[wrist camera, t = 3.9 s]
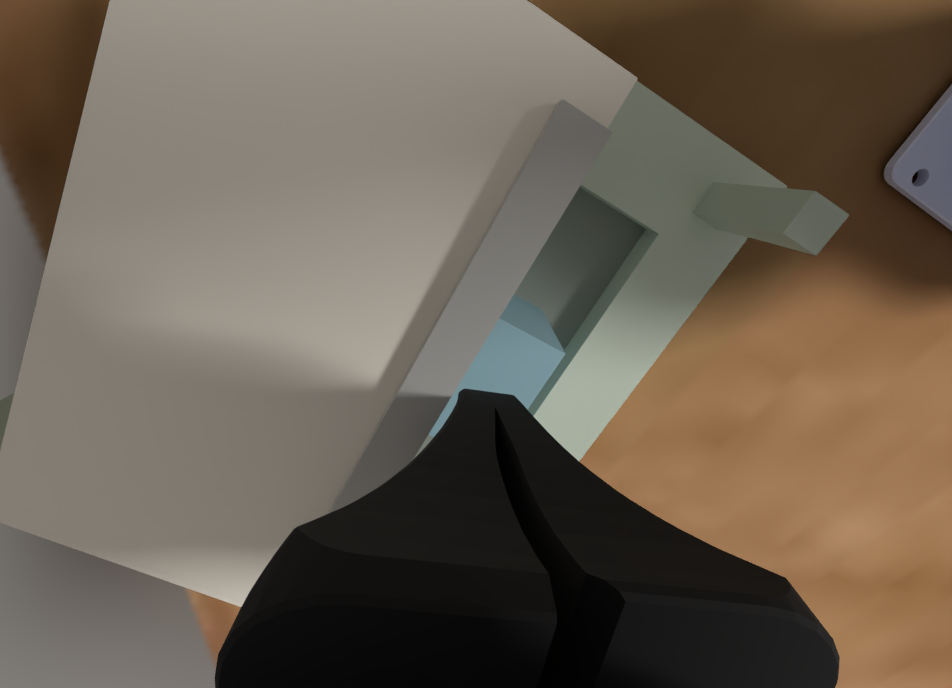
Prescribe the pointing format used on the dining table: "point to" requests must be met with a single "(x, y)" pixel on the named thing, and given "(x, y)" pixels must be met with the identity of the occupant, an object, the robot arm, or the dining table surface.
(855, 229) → the dining table surface
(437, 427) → the block
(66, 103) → the dining table surface
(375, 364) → the cover
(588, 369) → the puzzle board
